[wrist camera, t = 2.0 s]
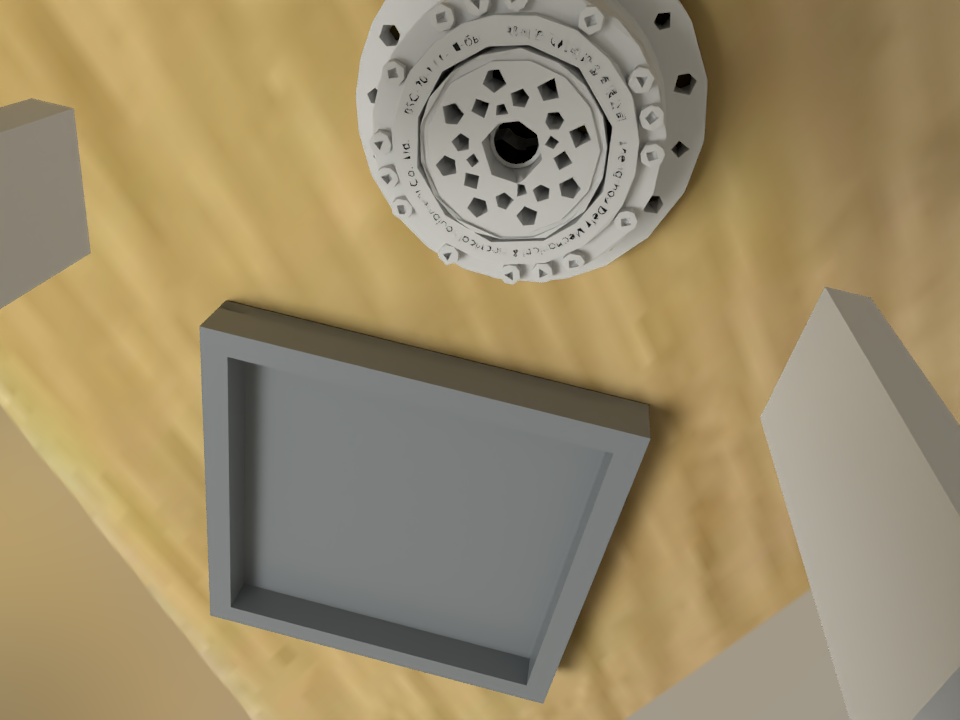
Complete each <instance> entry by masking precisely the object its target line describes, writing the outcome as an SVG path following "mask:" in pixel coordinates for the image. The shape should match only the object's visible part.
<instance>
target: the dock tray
mask: <svg viewBox="0 0 960 720" xmlns="http://www.w3.org/2000/svg"><path fill="white" fill-rule="evenodd" d="M200 351H201V377H202V404H203V430H204V457H205V484H206V510H207V537H208V563H209V590H210V615H211V616H215V617H219V618H222V619H226V620H230V621H234V622H237V623H241V624H245V625H249V626H252V627H256V628H260V629H264V630H267V631H271V632H275V633H279V634H283V635H286V636H290V637H294V638H298V639H301V640H305V641H309V642H313V643H316V644H320V645H324V646H328V647H332V648H335V649H339V650H343V651H347V652H350V653H354V654H358V655H362V656H365V657H369V658H373V659H377V660H380V661H384V662H388V663H392V664H396V665H399V666H403V667H407V668H411V669H414V670H418V671H422V672H426V673H429V674H433V675H437V676H441V677H445V678H448V679H452V680H456V681H460V682H463V683H467V684H471V685H475V686H478V687H482V688H486V689H490V690H493V691H497V692H501V693H505V694H509V695H512V696H516V697H520V698H524V699H527V700H531V701H535V702H539V703H542V704H543V703H544V700H545V698H546V695H547V693H548V690H549V688H550V685H551V683H552V680H553V678H554V676H555V673H556V671H557V668H558V666H559V663H560V661H561V658H562V656H563V653H564V651H565V648H566V646H567V644H568V641H569V639H570V636H571V634H572V631H573V629H574V626H575V624H576V621H577V619H578V616H579V614H580V612H581V609H582V607H583V604H584V602H585V599H586V597H587V594H588V592H589V589H590V587H591V584H592V582H593V579H594V577H595V575H596V572H597V570H598V567H599V565H600V562H601V560H602V557H603V555H604V552H605V550H606V547H607V545H608V543H609V540H610V538H611V535H612V533H613V530H614V528H615V525H616V523H617V520H618V518H619V515H620V513H621V511H622V508H623V506H624V503H625V501H626V498H627V496H628V493H629V491H630V488H631V486H632V483H633V481H634V479H635V476H636V474H637V471H638V469H639V466H640V464H641V461H642V459H643V456H644V454H645V451H646V449H647V447H648V444H649V442H650V439H651V435H650V419H649V405H647V404H643V403H639V402H635V401H631V400H627V399H623V398H619V397H615V396H611V395H607V394H603V393H599V392H595V391H591V390H587V389H582V388H578V387H574V386H570V385H566V384H562V383H558V382H554V381H550V380H546V379H542V378H538V377H534V376H530V375H526V374H522V373H518V372H514V371H510V370H506V369H501V368H497V367H493V366H489V365H485V364H481V363H477V362H473V361H469V360H465V359H461V358H457V357H453V356H449V355H445V354H441V353H437V352H433V351H429V350H425V349H420V348H416V347H412V346H408V345H404V344H400V343H396V342H392V341H388V340H384V339H380V338H376V337H372V336H368V335H364V334H360V333H356V332H352V331H348V330H344V329H339V328H335V327H331V326H327V325H323V324H319V323H315V322H311V321H307V320H303V319H299V318H295V317H291V316H287V315H283V314H279V313H275V312H271V311H267V310H263V309H258V308H254V307H250V306H246V305H242V304H238V303H234V302H230V301H225V302H224V303H223V304H222V305H221V306H220V307H219V308H218V309H217V310H216V311H215V312H214V313H213V314H212V315H211V316H210V317H209V318H208V319H207V320H206V321H205V322H204V323H203V324H201V325H200Z"/></svg>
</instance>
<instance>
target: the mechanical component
mask: <svg viewBox="0 0 960 720" xmlns="http://www.w3.org/2000/svg"><path fill="white" fill-rule="evenodd" d="M658 13H669V14H670V17H669V18H668V19H667V21H666V22H665V23H664V24H663V25H661V24H659V23H656V22H654V21H655V19H656V17H657V15H658ZM392 25H395V26H396V28H397V30H398V32H399V33H400V38H399V40H397V41H396V40H395V38H394V37H393V35H392V34H391V32H390V31H389V30H390V28H391V27H392ZM481 50H482V51H481ZM479 51H481V52H480V53H479ZM455 64H456V65H455ZM454 65H455V67H454V69H453V70H452V72H451V73H450V70H451V67H452V66H454ZM497 69H499V70H500V72H501V74H502V76H503V78H504V80H505V82H503V81H500V80H498V79H495V78H493V70H497ZM449 73H450V74H449ZM688 73H689V74H690V75H691V76H692V78H691V82H690V85H688V86H685V87H683V88H678V87H677V86H675V85H676V81H677V78H678V75H682V74H688ZM553 78H555V83H556V87H557V89H556V90H555V91H554V92H553V91H552V90H551V89H550V88H549V87H548V86H547V85H546V84H545V82H547V81H549V80H551V79H553ZM707 86H708V80H707V76H706V73H705V69H704V65H703V62H702V58H701V54H700V50H699V47H698V43H697V39H696V36H695V32H694V28H693V24H692V21H691V19H690V17H689V15H688V14H687V12H686V10H685V9H684V7H683V5H682V4H681V2H680V1H679V0H385V2H384V4H383V5H382V7H381V9H380V10H379V12H378V14H377V15H376V17H375V19H374V20H373V22H372V25H371V28H370V31H369V34H368V37H367V40H366V43H365V46H364V49H363V52H362V55H361V59H360V67H359V75H358V83H357V91H356V103H357V115H358V127H359V134H360V138H361V141H362V144H363V148H364V151H365V155H366V158H367V162H368V165H369V168H370V172H371V175H372V176H373V178H374V180H375V181H376V183H377V185H378V186H379V188H380V190H381V191H382V193H383V195H384V196H385V198H386V200H387V202H388V203H389V205H390V207H391V208H392V212H393V215H395V216H396V217H398V218H399V219H400V220H401V221H402V222H403V223H404V224H405V225H406V226H407V227H408V228H409V229H410V230H411V231H412V232H413V233H414V234H415V235H416V236H417V237H418V238H419V239H420V240H421V241H422V242H423V243H424V244H425V245H426V246H427V247H428V248H430V249H431V250H433V251H434V252H436V253H438V257H439V258H440V259H441V260H442V261H443V262H444V263H445V264H446V265H449V264H452V263H455V264H457V265H459V266H461V267H462V268H464V269H466V270H470V271H473V272H477V273H481V274H484V275H488V276H491V277H493V278H499V279H502V280H503V281H504V283H508V284H514V283H515V282H517V281H518V280H520V281H531V282H540V283H543V282H547V281H549V280H556V279H566V278H570V277H573V276H576V275H579V274H582V273H585V272H588V271H591V270H594V269H597V268H600V267H603V266H606V265H608V264H609V263H611V262H612V261H614V260H615V259H617V258H618V257H619V256H621V255H622V254H624V253H625V252H627V251H628V250H630V249H631V248H633V247H634V246H636V245H637V244H639V243H640V242H642V241H643V240H645V239H646V238H648V237H649V235H650V234H651V233H652V232H653V230H654V229H655V228H656V227H657V226H658V224H659V223H660V222H661V221H662V219H663V218H664V217H665V216H666V214H667V213H668V212H669V211H670V209H671V208H672V207H673V206H674V205H675V203H676V202H677V201H678V200H679V198H680V197H681V196H682V195H683V193H684V192H685V189H686V187H687V184H688V182H689V179H690V176H691V174H692V171H693V169H694V166H695V163H696V161H697V158H698V156H699V153H700V150H701V148H702V145H703V143H704V136H705V119H706V103H707ZM482 101H484V102H487V103H489V105H487V104H483V103H482ZM555 112H559V113H560V115H561V116H558V117H555ZM606 116H607V118H608V120H609V122H610V124H611V128H612V133H611V136H610V138H609V136H608V128H607V121H606ZM515 121H520V122H521V123H523V124H524V125H525V126H527V127H528V128H529V129H530V130H532V131H533V132H534V133H536V134H537V137H538V138H529V139H525V138H522V137H520V136H517V135H515V134H514V133H513V132H512V131H511V130H510V129H509V128H505V129H501V130H499V126H500V125H501V124H502V123H506V122H515ZM584 124H585V127H586V129H587V132H586V133H585V135H584V134H582V133H581V132H579V131H578V130H576V128H578V127H580V126H582V125H584ZM490 132H491V135H490ZM501 139H502V140H504V141H506V142H507V143H509V144H510V145H512V146H513V147H515V148H516V149H518V150H528V149H525V148H526V147H529V146H534V145H537V146H536V147H538V146H539V147H538V149H537V152H536V154H535V155H534V156H533V157H532V158H531V159H530V160H529V161H527V162H525V163H521V164H512V163H509V162H507V161H505V160H504V159H502V158H501V157H500V156H499V154H498V153H497V151H496V149H495V145H494V141H496V140H501ZM678 141H680V142H682V143H683V144H682V145H680V146H679V147H678V148H677V147H676V146H675V145H676V144H677V143H678ZM609 144H610V149H609V152H608V148H609ZM536 147H535V148H536ZM533 149H534V148H533ZM529 150H532V149H529ZM564 151H565V152H566V154H565V153H562V152H564ZM607 153H608V154H607ZM572 179H574V180H572ZM651 196H659V198H658V200H655V201H652V202H648V201H649V200H650V198H651Z"/></svg>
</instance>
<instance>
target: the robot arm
mask: <svg viewBox="0 0 960 720" xmlns="http://www.w3.org/2000/svg"><path fill="white" fill-rule="evenodd" d="M90 253H91V252H90V243H89V235H88V226H87V218H86V209H85V201H84V192H83V183H82V175H81V166H80V158H79V149H78V140H77V132H76V123H75V115H74V108H70V107H66V106H62V105H57V104H53V103H49V102H45V101H41V100H36V99H28V100H25V101H21V102H18V103H14V104H11V105H8V106H4V107H1V108H0V309H1V308H2V307H4V306H6V305H7V304H9V303H10V302H12V301H14V300H15V299H17V298H19V297H20V296H22V295H23V294H25V293H27V292H28V291H30V290H32V289H33V288H35V287H36V286H38V285H40V284H41V283H43V282H44V281H46V280H48V279H49V278H51V277H53V276H54V275H56V274H57V273H59V272H61V271H62V270H64V269H66V268H67V267H69V266H70V265H72V264H74V263H75V262H77V261H79V260H80V259H82V258H83V257H85V256H87V255H88V254H90ZM760 419H761V422H762V425H763V429H764V432H765V436H766V439H767V442H768V446H769V449H770V452H771V456H772V459H773V462H774V466H775V469H776V473H777V476H778V479H779V483H780V486H781V489H782V493H783V496H784V500H785V503H786V506H787V510H788V513H789V516H790V520H791V523H792V526H793V530H794V533H795V537H796V540H797V543H798V547H799V550H800V553H801V557H802V560H803V564H804V567H805V570H806V574H807V577H808V580H809V584H810V587H811V590H812V594H813V597H814V600H815V604H816V607H817V610H818V614H819V617H820V621H821V624H822V627H823V631H824V634H825V638H826V641H827V644H828V648H829V651H830V654H831V658H832V661H833V665H834V668H835V671H836V675H837V678H838V681H839V685H840V688H841V692H842V695H843V698H844V701H845V705H846V708H847V712H848V715H849V718H850V720H960V426H959V424H958V423H957V421H956V420H955V418H954V417H953V415H952V414H951V413H950V411H949V410H948V408H947V407H946V405H945V404H944V402H943V401H942V400H941V398H940V397H939V395H938V394H937V392H936V391H935V389H934V388H933V387H932V385H931V384H930V382H929V381H928V379H927V378H926V377H925V375H924V374H923V372H922V371H921V369H920V368H919V366H918V365H917V364H916V362H915V361H914V359H913V358H912V356H911V355H910V353H909V352H908V351H907V349H906V348H905V346H904V345H903V343H902V342H901V340H900V339H899V338H898V336H897V335H896V333H895V332H894V330H893V329H892V328H891V326H890V325H889V323H888V322H887V320H886V319H885V317H884V316H883V315H882V313H881V312H880V310H879V309H878V307H877V306H876V304H875V303H874V302H873V300H872V299H871V298H870V297H866V296H862V295H857V294H853V293H849V292H845V291H841V290H836V289H832V288H828V287H825V288H824V290H823V292H822V294H821V296H820V298H819V300H818V302H817V304H816V306H815V308H814V310H813V312H812V314H811V316H810V318H809V320H808V322H807V324H806V326H805V328H804V330H803V332H802V334H801V336H800V338H799V340H798V342H797V344H796V346H795V348H794V350H793V352H792V354H791V356H790V358H789V360H788V362H787V364H786V366H785V368H784V370H783V372H782V374H781V376H780V378H779V380H778V382H777V384H776V386H775V389H774V391H773V393H772V395H771V397H770V399H769V401H768V403H767V405H766V407H765V409H764V411H763V413H762V415H761V417H760Z"/></svg>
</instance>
